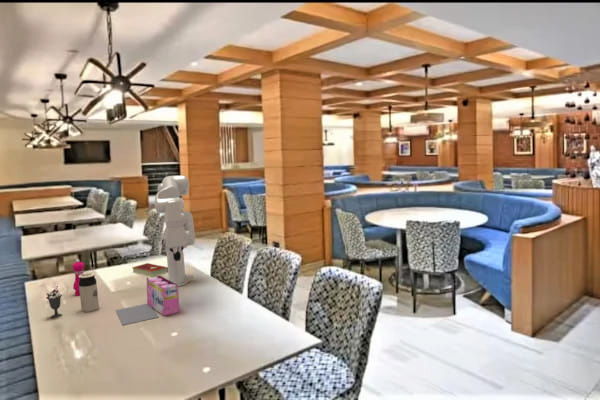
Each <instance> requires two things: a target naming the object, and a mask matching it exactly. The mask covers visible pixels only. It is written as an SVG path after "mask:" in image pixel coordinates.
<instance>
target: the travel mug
mask: <svg viewBox="0 0 600 400" xmlns="http://www.w3.org/2000/svg"><path fill="white" fill-rule="evenodd" d="M95 276H96V273H94V272H86V273H85V272H84V273H83V274H81V275H79V278H80V281H79V290H80V296H79V299H80V307H81V312H83V313H91V312H95V311H96V310H98V309H99V308H100V305H99V294H98V284H97V279H96V278H95Z"/></svg>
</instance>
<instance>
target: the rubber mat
mask: <svg viewBox="0 0 600 400" xmlns="http://www.w3.org/2000/svg"><path fill="white" fill-rule="evenodd" d="M115 313H116V314H117V317H118V320H119V321H120V323H121V325H122V326H126V325H132V324H136V323H140V321H141V322H144V321H145V322H146V321H148V320H152V319H153V320H154V319H159V315H158V314H157V312H156V310H155V309H154V308H153V307H151V306H150V305H149V304H147V303H144V304H143V303H142V304H138V305H133V306H130V307H129V306H128V307H125V308H124V307H123V308H120V309H116V310H115ZM131 323H132V324H131Z"/></svg>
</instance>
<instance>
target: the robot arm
mask: <svg viewBox="0 0 600 400" xmlns="http://www.w3.org/2000/svg"><path fill="white" fill-rule="evenodd" d="M189 192H190V180H189V178H188V177H187V176H186V175H184V174H183V175H182V174H181V175H179V174H178V175H167V176H165V177H164V178H163V179H162V180H161V183H159V184H158V185H157V193H156V194H155V197H154V209H155V211H156V212H157V213H158V214H164V215H163V216H164V222H165V223H164V224H165V228H164V235H163V241H164V246H165V247H164V250H165V252H166V260H167V261H166V263H167V267H168V272H167V273H168V274H167V275H168V280H169V281H171V282H173V283H175V284H177V285H178V287H181V286H184V285H187V284H189V279H194V274H186V269H185V268H186V267H185V255H184V254H185V253H184V252H183V250H184V249H186V248H187V247H188V246H193V245H195V242H196V234H195V226H194V225H195V224H194V223H195V222H194V217H193V214H192V213H191V211H183V210H184V209H185V201H184V200H183V198H181V197H182V196H185V197H186V196H187V195H188V194H189Z"/></svg>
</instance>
